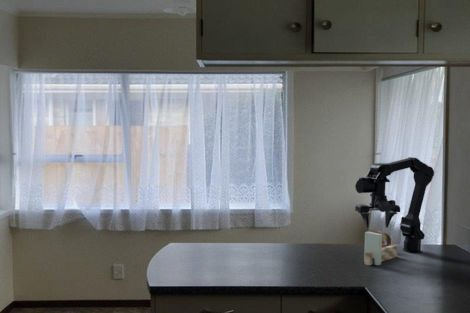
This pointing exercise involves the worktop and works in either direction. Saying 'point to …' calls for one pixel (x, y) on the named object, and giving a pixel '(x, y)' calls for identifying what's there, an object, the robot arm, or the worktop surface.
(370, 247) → the sage block
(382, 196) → the robot arm
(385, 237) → the tin
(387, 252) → the beige long bar piece
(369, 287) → the worktop surface
